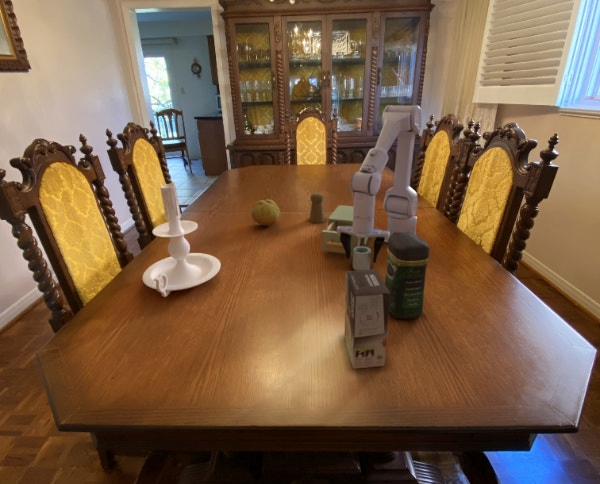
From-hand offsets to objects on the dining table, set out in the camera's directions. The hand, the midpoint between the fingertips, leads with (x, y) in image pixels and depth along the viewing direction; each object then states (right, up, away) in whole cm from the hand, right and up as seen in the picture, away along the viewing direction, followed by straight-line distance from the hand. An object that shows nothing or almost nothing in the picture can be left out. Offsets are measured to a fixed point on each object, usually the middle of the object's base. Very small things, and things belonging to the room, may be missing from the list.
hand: (361, 259), depth 100 cm
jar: (0, -2, +1) cm, 3 cm away
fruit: (-31, +9, +34) cm, 47 cm away
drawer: (-4, +3, +12) cm, 13 cm away
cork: (-11, +12, +38) cm, 41 cm away
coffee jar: (+6, -10, -18) cm, 22 cm away
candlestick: (-50, -6, -5) cm, 51 cm away
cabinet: (0, +6, +23) cm, 24 cm away
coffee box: (-5, -15, -31) cm, 35 cm away
